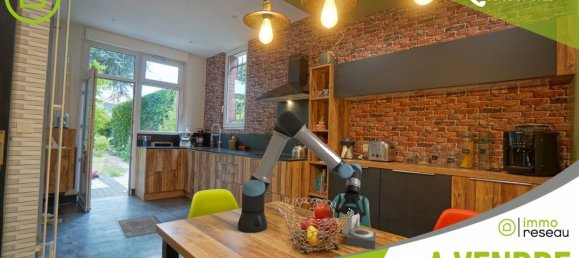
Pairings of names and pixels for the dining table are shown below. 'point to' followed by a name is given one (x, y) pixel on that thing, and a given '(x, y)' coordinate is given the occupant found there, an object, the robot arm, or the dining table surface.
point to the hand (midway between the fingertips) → (348, 226)
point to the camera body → (361, 238)
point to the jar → (352, 221)
